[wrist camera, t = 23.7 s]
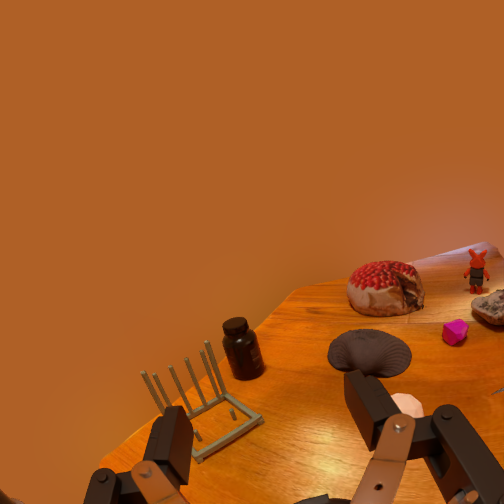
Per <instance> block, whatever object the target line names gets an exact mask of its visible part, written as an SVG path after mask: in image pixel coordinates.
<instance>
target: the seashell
mask: <svg viewBox="0 0 504 504" xmlns="http://www.w3.org/2000/svg"><path fill="white" fill-rule="evenodd" d="M411 358H412V356H411V351H410V349H409V347H408V346H407V345H406V343H404V342H403V341H402V340H400V339H399V338H397V337H395V336H392V335H390V334H388V333H385V332H383V331H379V330H373V329H358V330H353V331H352V330H350V331H348V332H345V333H343V334H341V335H340V336H339V337H337V338H336V339H334V340H333V341H332V343H331V344H330V348H329V351H328V360H329V362H330V363H331V364H332V365H333V367H334V368H336V369H339V370H344V371H349V372H351V371H355V370H358V369H359V370H360V371H361V372H362V374H363V375H371V376H377V377H386V378H388V377H392V376H395V375H397V374H400V373H402V372H404V371H405V369H406V368H407V367H408V366H409V364H410V362H411Z"/></svg>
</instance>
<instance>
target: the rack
mask: <svg viewBox="0 0 504 504" xmlns="http://www.w3.org/2000/svg"><path fill="white" fill-rule="evenodd" d="M204 344H205V347H206V349H207V352H208V355H209V358H210V361H211V364H212V367H213V369H214V372H215V375H216V378H217V380H218V383H219V386H220V388H221V391H222V394H221V395H220V394H219V391H218V389H217V386H216V384H215V381H214V378H213V376H212V373H211V370H210V367H209V365H208V362H207V359H206V356H205V353H204V351H203V350H200V354H201V357H202V360H203V363H204V365H205V368H206V370H207V373H208V376H209V379H210V381H211V384H212V386H213V389H214V392H215V394H216V398H214V399H212V400H211V401H209V402H207V403H206V400H205V398H204V396H203V394H202V391H201V389H200V386H199V384H198V382H197V379H196V377H195V374H194V372H193V369H192V367H191V364H190V362H189V359H188V358H184V360H185V363H186V365H187V368H188V370H189V373H190V375H191V378H192V380H193V382H194V385H195V387H196V389H197V392H198V394H199V396H200V399H201V401H202V403H203V405H202V406H200V407H198V408H196V409H194V410H192V408H191V406H190V404H189V402H188V400H187V398H186V395H185V393H184V391H183V389H182V387H181V384H180V382H179V380H178V378H177V376H176V373H175V371H174V369H173V366H172V365H170V366H169V367H168V368H169V370H170V372H171V374H172V377H173V379H174V381H175V383H176V385H177V387H178V390H179V392H180V394H181V396H182V398H183V400H184V402H185V404H186V406H187V408H188V410H189V413H187V416H188V418H189V420H190V419H192V418H193V417H195V416H197V415H199V414H201V413H202V412H204V411H206V410H208V409H209V408H211V407H213V406H215V405H216V404H218V403H220V402H221V401H223V400H225V399H226V400H227V401H228V402H230V403H231V404H232V405H233V406H235V407H236V408H237V409H239V410H240V411H241V412H243V413H244V414H245V415H247V416H248V417H249V418H251V419H250V420H249V421H247V422H246V423H244V424H242V425H241V426H239V427H238V428H236V429H235V430H233V431H232V432H230V433H228V434H227V435H225V436H224V437H222V438H220V439H219V440H217V441H215V442H214V443H212V444H210V445H209V446H207V447H205V448H203V449H202V450H200V451H198V452H197V451H196V450H195V449H194V448H193V447H192V454H191V455H192V456H193V458H194V459H195V460H196V461H197V462H198V463H201V462H203V461H204V460H203V458H204V457H206V456H208V455H209V454H211V453H213V452H214V451H216V450H218V449H219V448H221V447H223V446H224V445H226V444H227V443H229V442H231V441H232V440H234V439H235V438H237V437H238V436H240V435H242V434H243V433H245V432H246V431H248V430H249V429H251V428H252V427H253V426H255V425H256V424H259V425H261V424H263V423H264V419H263V417H262V415H261V414H256V413H255V412H253V411H252V410H250V409H249V408H248V407H246V406H245V405H243V404H242V403H241V402H239V401H238V400H237V399H235V398H234V397H233V396H231V395H230V394H229V393H227V391H226V388H225V385H224V383H223V380H222V377H221V374H220V371H219V368H218V366H217V363H216V360H215V357H214V354H213V351H212V348H211V345H210V342H209V341H208V340H207V341H205V342H204ZM141 375H142V377H143V379H144V381H145V383H146V385H147V387H148V389H149V391H150V393H151V395H152V396H153V398H154V400H155V402H156V404H157V406H158V408H159V409H160V411H161V413H162V415H163V416H164V412H165V408H164V406H163V404H162V403H161V401H160V399H159V397H158V395H157V393H156V391H155V389H154V387H153V385H152V383H151V381H150V379H149V377H148V375H147V373H146V371H142V372H141ZM152 375H153V378H154V379H155V382H156V384H157V386H158V388H159V390H160V392H161V394H162V396H163V398H164V400H165V402H166V403H167V405H168V406H172V405H171V403H170V401H169V399H168V397H167V395H166V393H165V391H164V389H163V387H162V385H161V383H160V380H159V378H158V376H157V374H156V373H153V374H152ZM229 411H230V414H231V416H232V419H233V420H236V419H237V418H236V415H235V412H234V410H233V409H232V408H231V409H230V410H229ZM194 434H195V436H196V438H197V439H198V441H202V438H201V436H200V435H199V433H198V431H197V430H194Z"/></svg>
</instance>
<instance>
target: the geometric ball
mask: <svg viewBox="0 0 504 504" xmlns="http://www.w3.org/2000/svg"><path fill="white" fill-rule="evenodd" d="M391 397H392V399H393V400H394V402H395V403H396V405H397V406H398V407H399V409H400V410H401V412H402V413H404V414H408V415H410V416H412V417H413V418H420V417H424V413H423V409H422V405H421V403H420V402H419V401H418V400H416V399H415V398H414V397H413V396H412V395H410V394H401V393H396V394H394V395H391Z"/></svg>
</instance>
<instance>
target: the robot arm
mask: <svg viewBox="0 0 504 504" xmlns="http://www.w3.org/2000/svg"><path fill="white" fill-rule="evenodd" d="M344 395H345V401H346V404H347V407H348V409H349V411H350V413H351V415H352V417H353V419H354V421H355V423H356V425H357V427H358V429H359V431H360V433H361V435H362V437H363V439H364V441H365V443H366V445H367V447H368V449H369V451H370V452H371V451H373V450H375V452H374V455H373V457H372V458H371V459H370V461H369V464H368V466H367V468H366V471H365V473H364V475H363V477H362V480H361V482H360V484H359V486H358V488H357V490H356V492H355V494H354V496H353V498H352V500H347V499H340V498H331V499H329V497H328V494H324V495H321V496H317V497H313V498H308V499H304V500H301V501H299V502H297V503H294V504H392V503H393V501H394V498H395V496H396V493H397V490H398V487H399V484H400V481H401V478H402V475H403V472H404V469H405V466H406V461H407V460H412V459H418V458H423V459H424V460H425V462H426V464H427V466H428V468H429V470H430V472H431V474H432V476H433V478H434V480H435V482H436V484H437V485H438V487H439V489H440V491H441V493H442V495H443V497H444V500H445V502H446V504H504V470H503V468H502V467H501V466H500V464H499V463H498V461H497V460H496V458H495V457H494V455H493V454H492V453H491V451H490V450H489V448H488V447H487V446H486V444H485V443H484V441H483V440H482V439H481V437H480V436H479V435H478V433H477V432H476V431H475V429H474V428H473V427H472V425H471V424H470V423H469V421H468V420H467V419H466V417H465V416H464V415H463V414H462V412H461V411H460V410H459V409H458V408H457V407H456V406H454V405H450V404H447V405H442V406H440V407H438V408H437V409H436V410H435V411H434V413H433V415H430V416H425V417H420V418H413V417H412V416H410V415H408V414H404V413H402V412H401V410H400V409H399V407H398V406H397V405H396V403H395V402H394V400H393V399H392V397H391V396H390V395H389V393H388V392H387V390H386V389H385V388H384V386H383V385H382V383H381V382H380V380H378V379H377V378H375V377H373V376H368V377H364V375H363V374H362V372H361V371H360V370H359V369H358V370H355V371H351V372H348V373H345V374H344ZM193 438H194V431H193V427H192V424H191V422H190V420H189V418H188V416H187V414H186V412H185V410H184V408H183V407H182V406H168V407H166V409H165V412H164V416H161V417H158V418H157V419H156V421H155V422H154V423H153V425H152V429H151V433H150V436H149V439H148V443H147V446H146V450H145V454H144V457H143V461H141V462H139V463H137V464H136V465H135V466H134V467H133V468H132V470H131V471H128V472H123V473H117V474H115V473H114V472H113V471H112V470H111V469H108V468H101V469H98V470H97V471H95V472H94V473H93V475H92V477H91V480H90V483H89V486H88V489H87V493H86V496H85V499H84V503H83V504H190V503H189V502H188V500H187V499H186V498H185V497H184V496H183V495H182V493H181V492H180V485H188V480H189V471H190V462H191V454H192V446H193ZM0 504H17V503H16V502H14V501H13V500H12V499H10V498H9V497H8V496H7V495H6V494H5V493H4V492H3V491H2V490H1V489H0Z"/></svg>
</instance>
